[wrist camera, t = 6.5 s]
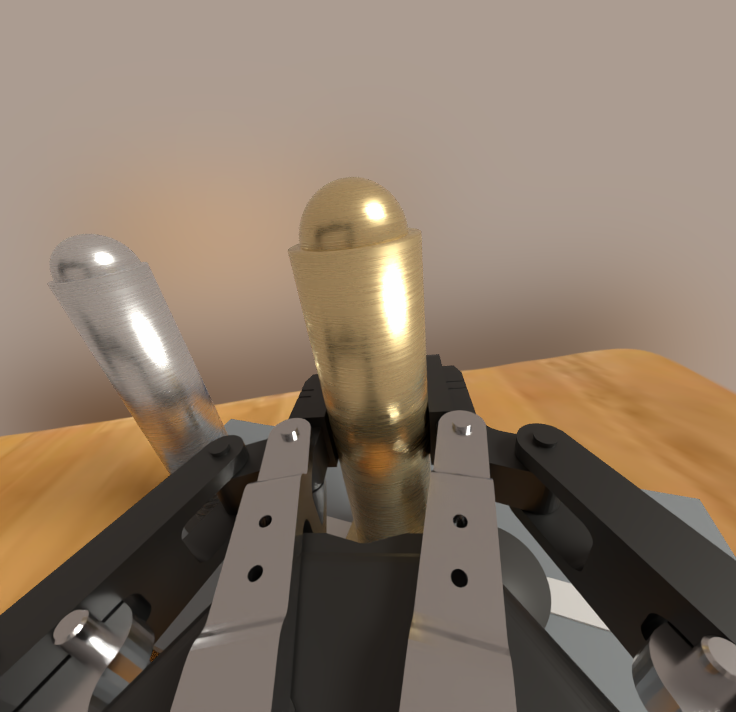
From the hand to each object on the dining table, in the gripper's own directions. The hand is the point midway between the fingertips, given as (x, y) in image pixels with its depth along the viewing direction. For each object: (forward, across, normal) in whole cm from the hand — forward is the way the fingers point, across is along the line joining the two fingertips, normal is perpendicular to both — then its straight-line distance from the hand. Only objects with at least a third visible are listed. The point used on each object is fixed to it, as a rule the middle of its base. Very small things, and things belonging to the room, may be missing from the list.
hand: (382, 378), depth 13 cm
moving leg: (-3, 0, +7) cm, 8 cm away
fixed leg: (0, +10, +8) cm, 12 cm away
